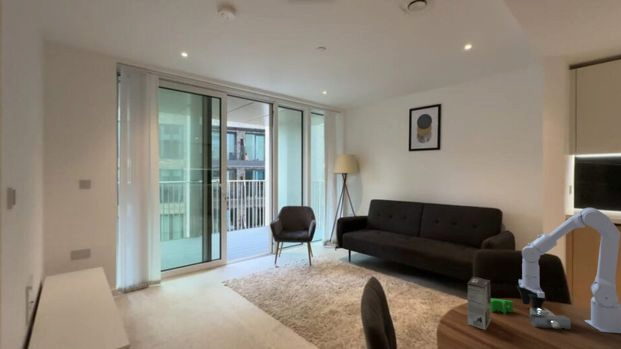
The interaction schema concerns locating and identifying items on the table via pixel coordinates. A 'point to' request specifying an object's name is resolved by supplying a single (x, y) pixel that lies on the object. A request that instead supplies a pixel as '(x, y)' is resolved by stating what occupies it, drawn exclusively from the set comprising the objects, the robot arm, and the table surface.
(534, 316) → the end block
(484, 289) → the coffee box
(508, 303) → the pipe clamp
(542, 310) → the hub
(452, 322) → the table surface
